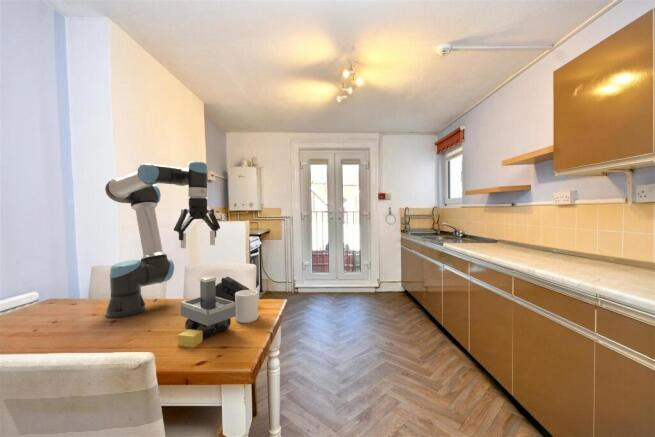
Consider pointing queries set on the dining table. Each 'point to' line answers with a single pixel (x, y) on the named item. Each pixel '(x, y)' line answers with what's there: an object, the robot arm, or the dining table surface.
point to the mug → (246, 306)
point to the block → (190, 338)
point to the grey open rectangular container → (208, 315)
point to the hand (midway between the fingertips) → (198, 246)
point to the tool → (229, 288)
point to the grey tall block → (207, 291)
